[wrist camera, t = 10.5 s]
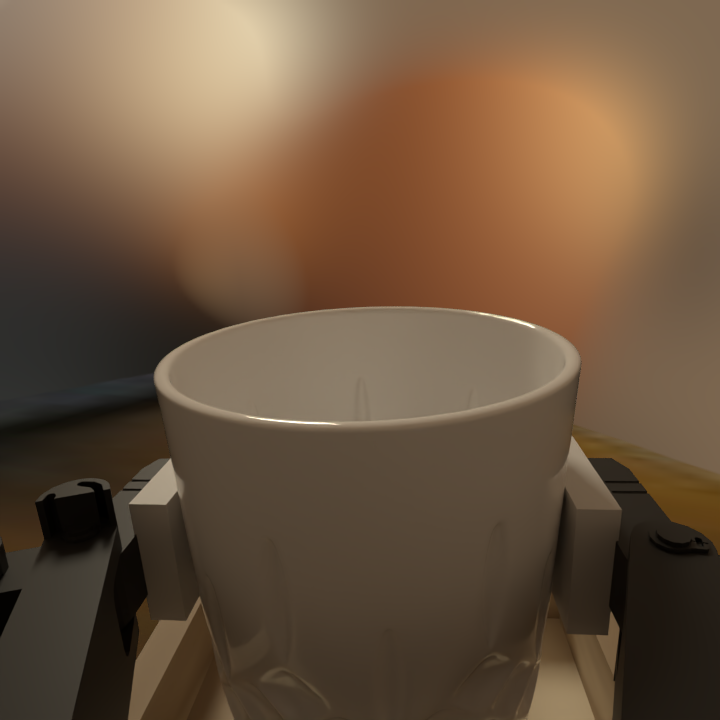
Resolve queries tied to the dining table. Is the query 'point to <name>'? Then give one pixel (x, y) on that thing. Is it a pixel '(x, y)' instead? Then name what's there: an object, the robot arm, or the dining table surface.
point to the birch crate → (213, 716)
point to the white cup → (373, 507)
